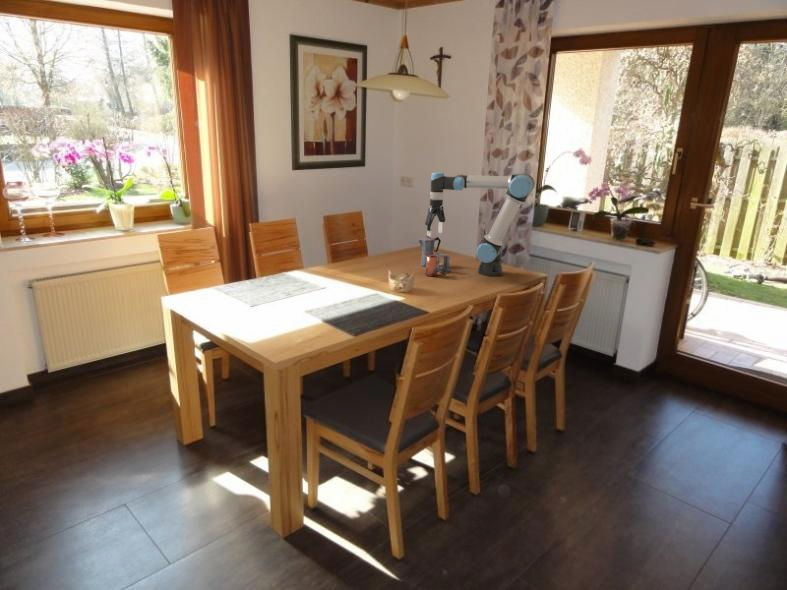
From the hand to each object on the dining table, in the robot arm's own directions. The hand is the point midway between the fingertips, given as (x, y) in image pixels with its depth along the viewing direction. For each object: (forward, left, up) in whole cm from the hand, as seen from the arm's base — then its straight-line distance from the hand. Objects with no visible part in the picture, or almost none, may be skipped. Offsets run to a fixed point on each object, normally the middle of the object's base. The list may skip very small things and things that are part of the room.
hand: (434, 234), depth 334 cm
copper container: (-4, +2, -23) cm, 23 cm away
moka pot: (+9, -10, -23) cm, 27 cm away
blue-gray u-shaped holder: (-4, -3, -23) cm, 24 cm away
